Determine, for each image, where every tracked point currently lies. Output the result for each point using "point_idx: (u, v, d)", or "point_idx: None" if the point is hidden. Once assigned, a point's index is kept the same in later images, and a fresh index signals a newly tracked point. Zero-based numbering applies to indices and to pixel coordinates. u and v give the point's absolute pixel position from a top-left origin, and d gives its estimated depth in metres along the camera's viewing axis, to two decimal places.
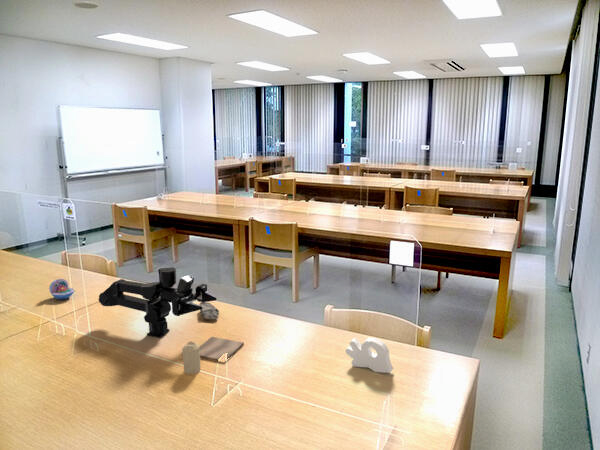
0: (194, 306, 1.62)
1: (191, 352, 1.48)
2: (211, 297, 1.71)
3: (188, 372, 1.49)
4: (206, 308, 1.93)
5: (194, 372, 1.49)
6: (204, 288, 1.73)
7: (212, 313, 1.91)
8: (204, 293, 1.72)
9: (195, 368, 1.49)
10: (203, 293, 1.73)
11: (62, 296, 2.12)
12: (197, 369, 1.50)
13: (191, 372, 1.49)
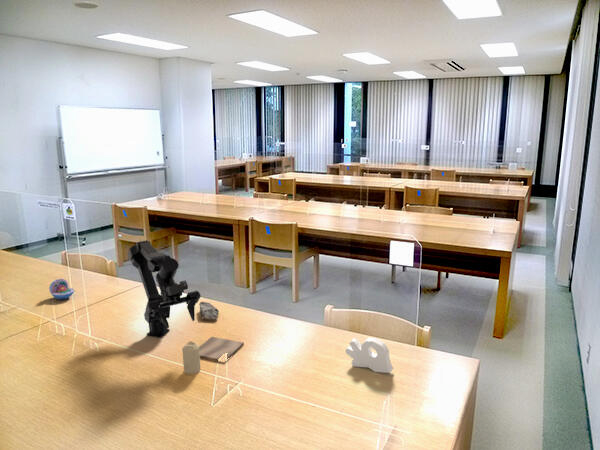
0: (163, 321, 1.53)
1: (191, 352, 1.48)
2: (191, 315, 1.59)
3: (188, 372, 1.49)
4: (206, 308, 1.93)
5: (194, 372, 1.49)
6: (193, 300, 1.60)
7: (212, 313, 1.91)
8: (190, 305, 1.60)
9: (195, 368, 1.49)
10: (189, 304, 1.60)
11: (62, 296, 2.12)
12: (197, 369, 1.50)
13: (191, 372, 1.49)
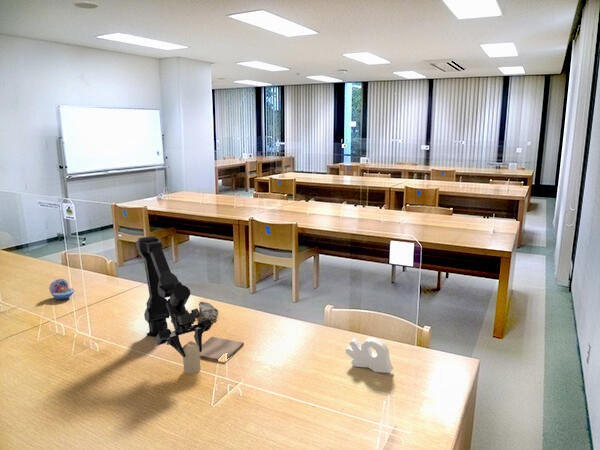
0: (179, 350, 1.48)
1: (191, 352, 1.48)
2: None
3: (188, 372, 1.49)
4: (205, 308, 1.93)
5: (194, 372, 1.49)
6: (200, 330, 1.53)
7: (211, 313, 1.91)
8: (197, 335, 1.53)
9: (195, 368, 1.49)
10: (196, 333, 1.53)
11: (62, 296, 2.12)
12: (197, 369, 1.50)
13: (191, 372, 1.49)
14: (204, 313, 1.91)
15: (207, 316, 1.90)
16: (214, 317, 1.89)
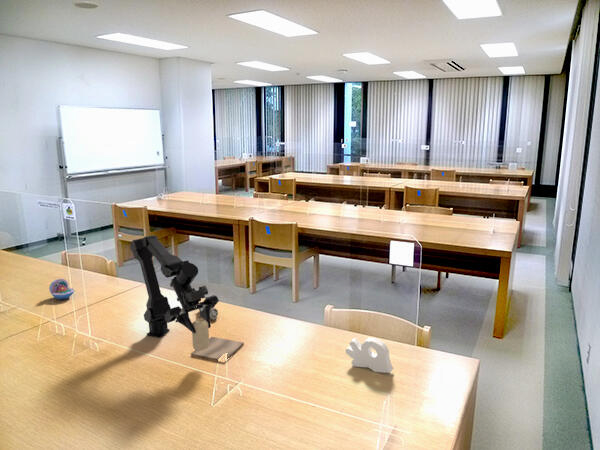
0: (189, 326, 1.50)
1: (202, 327, 1.50)
2: None
3: (198, 348, 1.52)
4: None
5: (204, 348, 1.52)
6: (208, 307, 1.56)
7: (211, 313, 1.91)
8: (205, 311, 1.55)
9: (205, 343, 1.52)
10: (204, 310, 1.56)
11: (62, 296, 2.12)
12: (207, 344, 1.53)
13: (201, 348, 1.52)
14: None
15: None
16: (214, 317, 1.89)
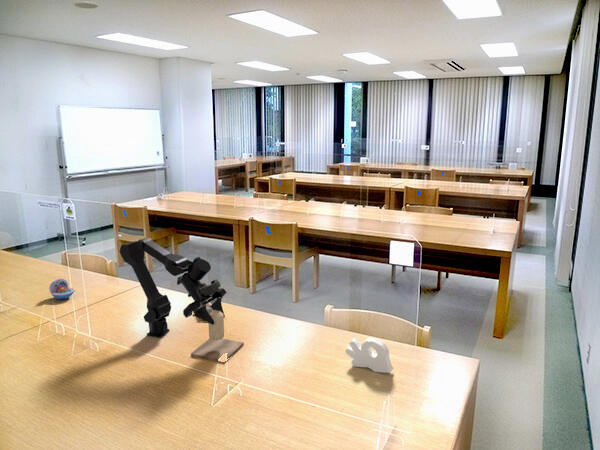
0: (208, 318, 1.59)
1: (220, 318, 1.60)
2: None
3: (216, 338, 1.61)
4: None
5: (221, 337, 1.62)
6: (220, 299, 1.66)
7: None
8: (217, 303, 1.65)
9: (222, 333, 1.62)
10: (216, 303, 1.65)
11: (62, 296, 2.12)
12: (223, 334, 1.63)
13: (219, 337, 1.62)
14: None
15: None
16: None
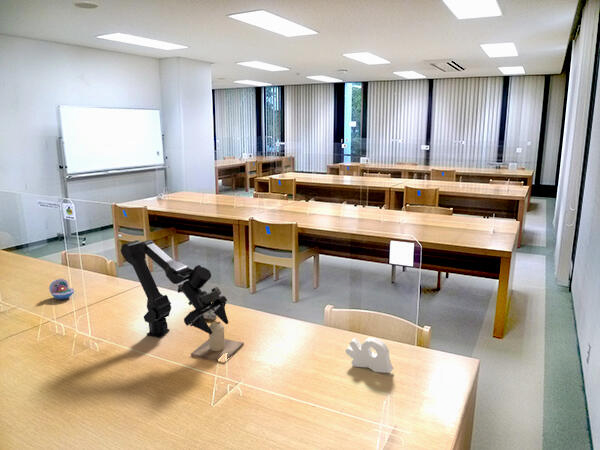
0: (206, 328, 1.58)
1: (220, 329, 1.61)
2: (224, 319, 1.67)
3: (217, 349, 1.62)
4: None
5: (222, 348, 1.63)
6: (223, 305, 1.68)
7: (210, 313, 1.91)
8: (220, 309, 1.67)
9: (223, 344, 1.63)
10: (220, 309, 1.67)
11: (62, 296, 2.12)
12: (224, 345, 1.64)
13: (220, 348, 1.63)
14: None
15: (206, 316, 1.90)
16: (213, 317, 1.89)
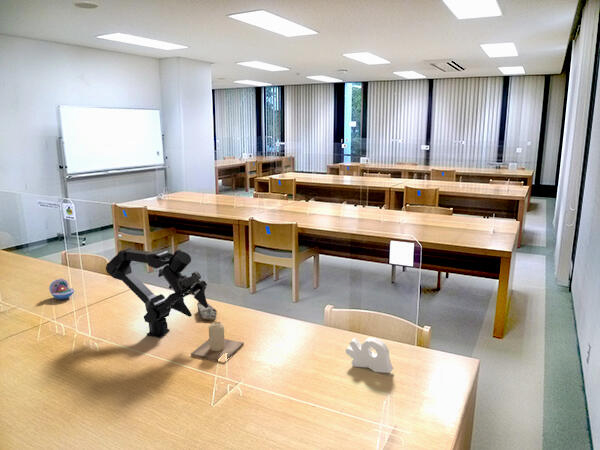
0: (185, 310, 1.62)
1: (220, 329, 1.61)
2: (204, 302, 1.70)
3: (217, 349, 1.62)
4: (204, 308, 1.93)
5: (222, 348, 1.63)
6: (203, 289, 1.71)
7: (210, 313, 1.91)
8: (200, 294, 1.71)
9: (223, 344, 1.63)
10: (199, 293, 1.71)
11: (62, 296, 2.12)
12: (224, 345, 1.64)
13: (220, 348, 1.63)
14: (203, 313, 1.91)
15: (206, 316, 1.90)
16: (213, 317, 1.89)
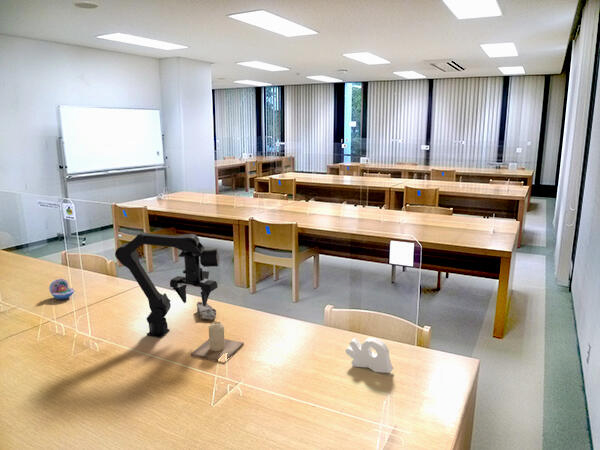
0: (206, 299, 1.75)
1: (220, 329, 1.61)
2: (185, 297, 1.79)
3: (217, 349, 1.62)
4: (203, 308, 1.93)
5: (222, 348, 1.63)
6: None
7: (210, 313, 1.91)
8: (184, 288, 1.79)
9: (223, 344, 1.63)
10: (184, 287, 1.78)
11: (62, 296, 2.12)
12: (224, 345, 1.64)
13: (220, 348, 1.63)
14: (202, 313, 1.91)
15: (205, 316, 1.90)
16: (212, 317, 1.89)
